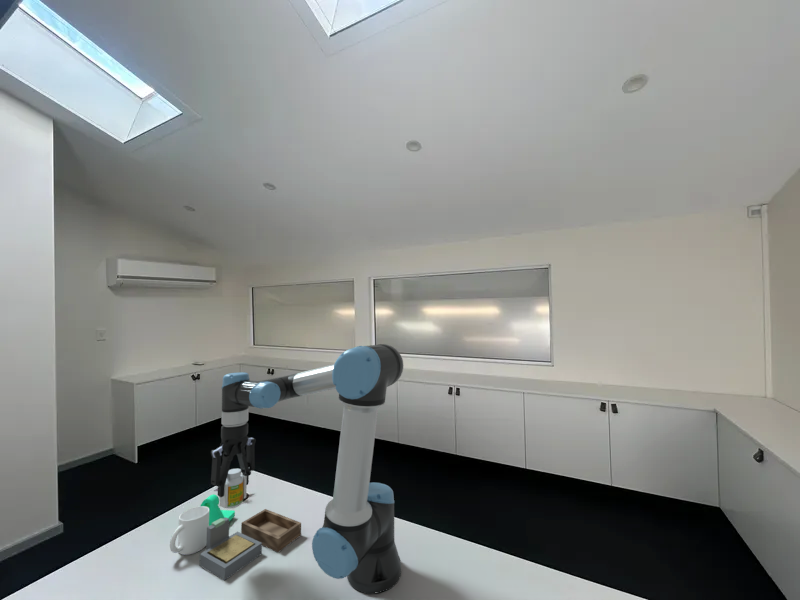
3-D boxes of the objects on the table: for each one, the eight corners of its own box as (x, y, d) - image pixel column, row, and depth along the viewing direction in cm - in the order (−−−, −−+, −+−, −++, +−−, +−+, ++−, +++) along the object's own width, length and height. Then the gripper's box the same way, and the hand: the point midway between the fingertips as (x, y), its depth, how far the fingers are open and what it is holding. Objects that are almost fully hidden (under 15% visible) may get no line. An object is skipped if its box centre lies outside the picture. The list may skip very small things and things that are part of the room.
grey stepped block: (261, 553, 101) (262, 522, 101) (224, 580, 90) (225, 545, 91) (233, 539, 108) (234, 510, 108) (195, 563, 97) (196, 530, 98)
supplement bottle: (229, 511, 96) (230, 476, 97) (219, 505, 99) (220, 472, 100) (246, 502, 101) (247, 469, 101) (236, 497, 103) (237, 466, 104)
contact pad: (253, 548, 100) (254, 543, 100) (226, 567, 93) (226, 561, 93) (235, 539, 104) (236, 534, 105) (208, 556, 97) (208, 551, 97)
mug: (179, 566, 96) (181, 529, 97) (159, 561, 98) (160, 525, 99) (214, 541, 107) (215, 508, 108) (195, 536, 110) (196, 504, 110)
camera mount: (235, 517, 120) (236, 488, 121) (223, 530, 113) (223, 499, 114) (205, 516, 121) (205, 488, 122) (190, 529, 114) (191, 498, 115)
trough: (301, 535, 109) (301, 522, 110) (277, 552, 101) (278, 538, 101) (265, 520, 118) (265, 508, 118) (241, 535, 110) (241, 522, 110)
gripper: (253, 415, 112) (252, 486, 110) (197, 430, 96) (195, 513, 94) (268, 417, 108) (267, 491, 106) (212, 433, 92) (209, 520, 90)
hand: (233, 501), depth 100 cm, fingers closed on supplement bottle, 5 cm apart
